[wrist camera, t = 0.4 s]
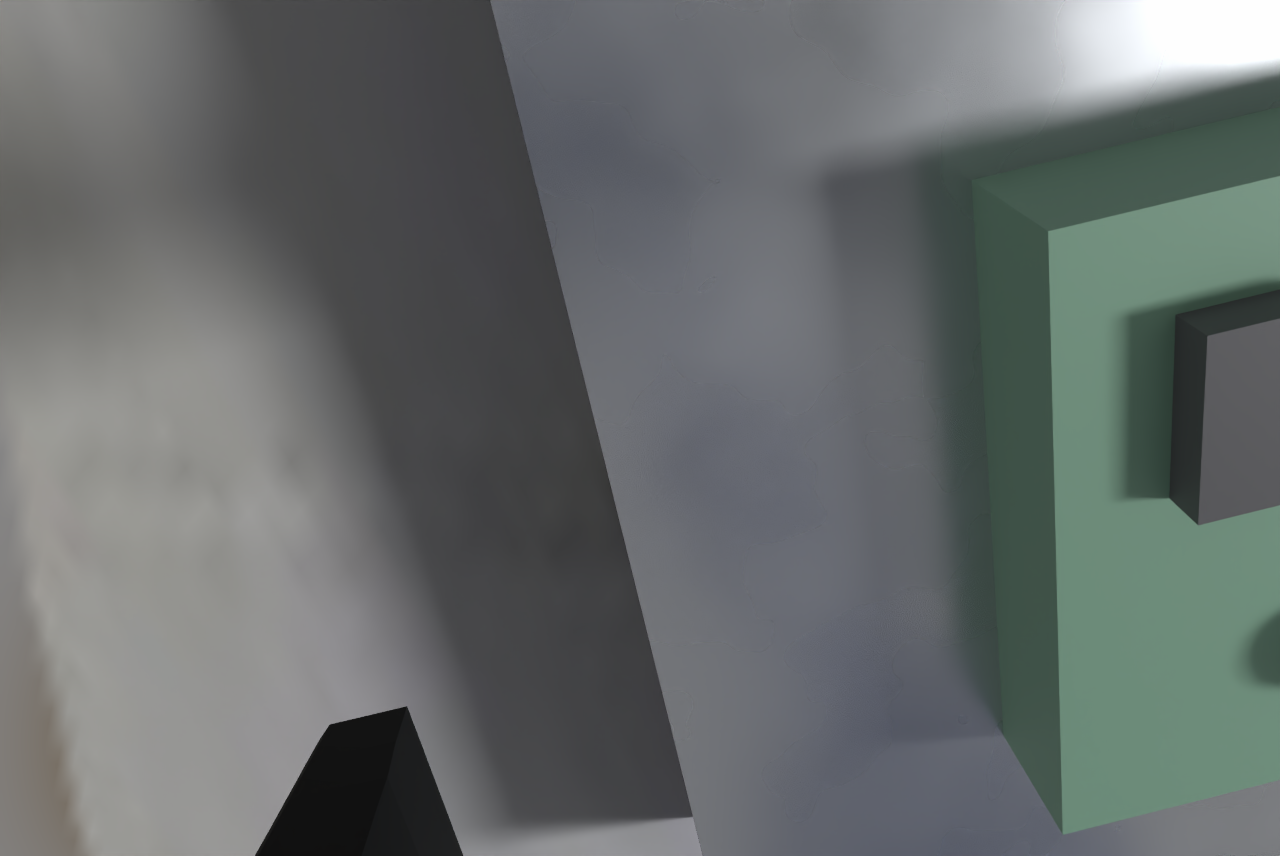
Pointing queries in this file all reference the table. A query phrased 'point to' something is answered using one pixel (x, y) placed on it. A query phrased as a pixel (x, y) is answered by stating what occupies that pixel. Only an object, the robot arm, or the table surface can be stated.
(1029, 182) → the thick sage green slab
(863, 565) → the deck
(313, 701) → the table surface
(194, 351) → the table surface
